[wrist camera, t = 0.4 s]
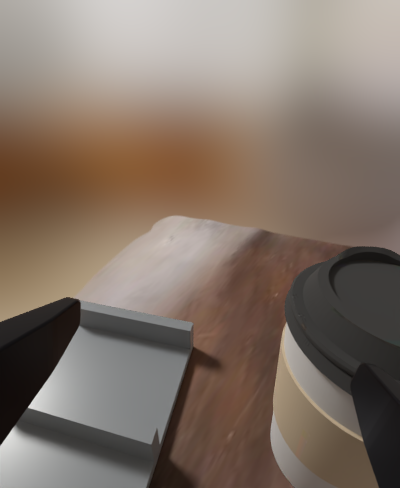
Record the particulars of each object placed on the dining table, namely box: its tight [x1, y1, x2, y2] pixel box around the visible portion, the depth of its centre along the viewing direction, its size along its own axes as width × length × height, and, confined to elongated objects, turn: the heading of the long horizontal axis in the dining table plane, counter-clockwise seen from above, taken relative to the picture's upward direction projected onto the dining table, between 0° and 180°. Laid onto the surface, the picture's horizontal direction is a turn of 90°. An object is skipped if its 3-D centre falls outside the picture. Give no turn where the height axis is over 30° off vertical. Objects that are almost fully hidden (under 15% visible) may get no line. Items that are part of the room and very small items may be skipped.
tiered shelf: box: [0, 301, 193, 488], centre depth 19 cm, size 19×12×3 cm, turn 166°
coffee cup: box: [270, 247, 400, 488], centre depth 16 cm, size 9×9×15 cm
